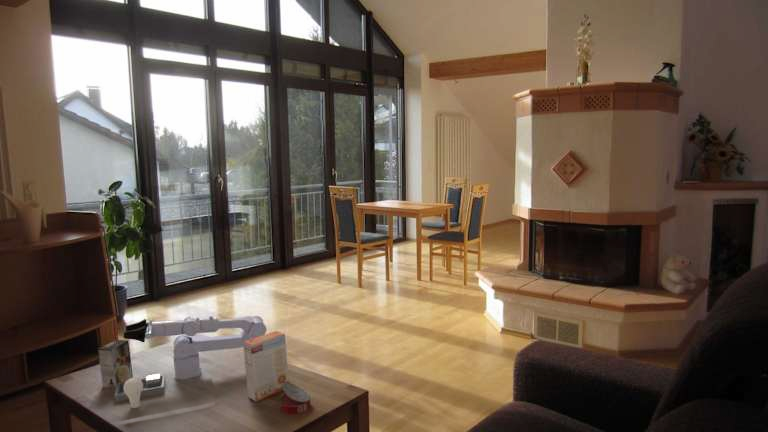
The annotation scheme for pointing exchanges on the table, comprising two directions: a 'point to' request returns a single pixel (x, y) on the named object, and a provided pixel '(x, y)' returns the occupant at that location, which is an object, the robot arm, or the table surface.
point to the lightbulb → (133, 391)
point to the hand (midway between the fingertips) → (124, 332)
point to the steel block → (153, 381)
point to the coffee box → (115, 363)
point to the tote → (145, 392)
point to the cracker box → (265, 365)
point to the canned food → (294, 399)
